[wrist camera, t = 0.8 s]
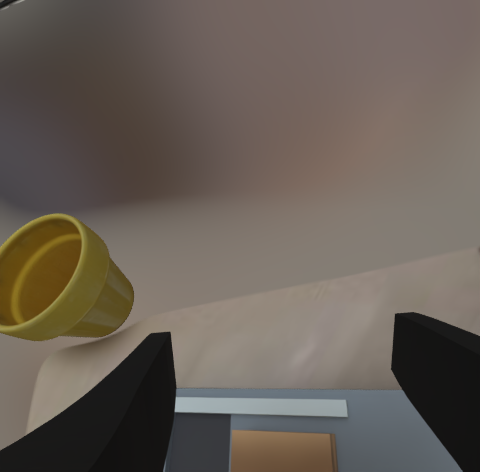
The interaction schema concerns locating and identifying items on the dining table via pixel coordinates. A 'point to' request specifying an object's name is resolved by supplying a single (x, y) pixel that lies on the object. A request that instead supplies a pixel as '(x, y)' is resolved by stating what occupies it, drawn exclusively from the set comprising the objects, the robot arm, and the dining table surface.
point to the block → (283, 451)
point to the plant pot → (60, 282)
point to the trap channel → (306, 427)
